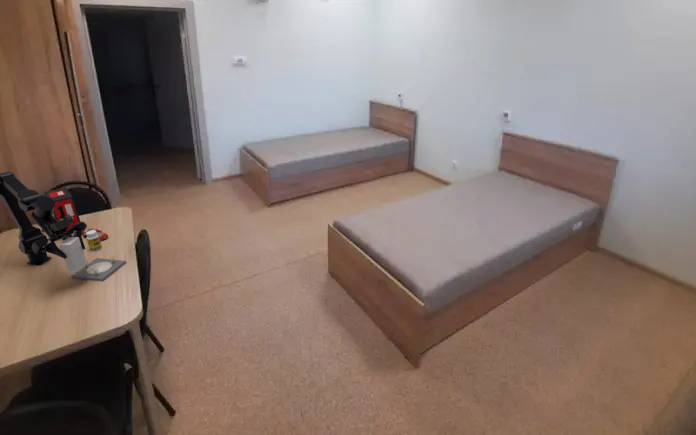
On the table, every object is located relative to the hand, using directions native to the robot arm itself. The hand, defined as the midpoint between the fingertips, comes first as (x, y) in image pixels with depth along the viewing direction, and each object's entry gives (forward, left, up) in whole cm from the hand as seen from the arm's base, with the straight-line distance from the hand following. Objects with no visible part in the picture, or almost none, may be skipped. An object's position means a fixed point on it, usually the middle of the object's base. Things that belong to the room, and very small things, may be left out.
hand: (75, 253), depth 152 cm
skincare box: (-1, 0, -7) cm, 7 cm away
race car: (-24, +34, -13) cm, 44 cm away
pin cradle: (0, +9, -13) cm, 16 cm away
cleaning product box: (-40, +38, -13) cm, 57 cm away
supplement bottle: (-15, +25, -13) cm, 32 cm away
